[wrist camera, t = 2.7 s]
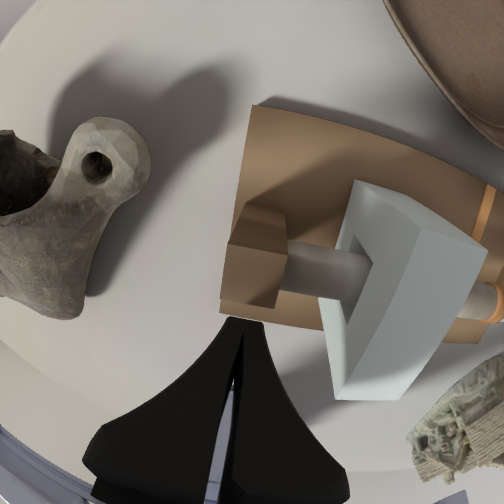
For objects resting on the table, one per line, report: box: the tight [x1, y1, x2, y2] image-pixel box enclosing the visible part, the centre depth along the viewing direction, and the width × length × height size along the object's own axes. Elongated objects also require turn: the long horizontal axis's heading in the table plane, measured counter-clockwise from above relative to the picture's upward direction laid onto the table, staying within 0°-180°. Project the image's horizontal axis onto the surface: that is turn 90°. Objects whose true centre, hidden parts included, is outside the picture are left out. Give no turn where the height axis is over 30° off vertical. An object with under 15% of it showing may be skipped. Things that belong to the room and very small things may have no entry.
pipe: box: [0, 116, 151, 320], centre depth 13 cm, size 16×9×15 cm
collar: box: [318, 179, 488, 400], centre depth 11 cm, size 7×3×7 cm, turn 170°
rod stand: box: [219, 105, 504, 344], centre depth 12 cm, size 12×22×6 cm, turn 80°
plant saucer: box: [383, 0, 504, 150], centre depth 7 cm, size 18×18×3 cm
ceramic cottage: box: [406, 356, 504, 485], centre depth 17 cm, size 16×16×15 cm
